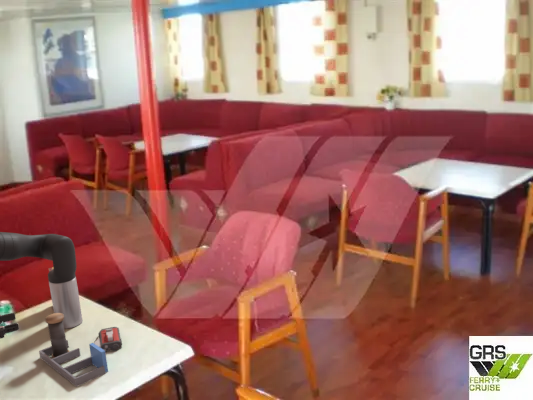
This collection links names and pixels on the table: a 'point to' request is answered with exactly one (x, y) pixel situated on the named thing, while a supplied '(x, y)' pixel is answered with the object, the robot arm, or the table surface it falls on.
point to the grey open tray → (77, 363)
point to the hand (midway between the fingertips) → (16, 320)
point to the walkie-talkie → (109, 339)
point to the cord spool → (57, 334)
